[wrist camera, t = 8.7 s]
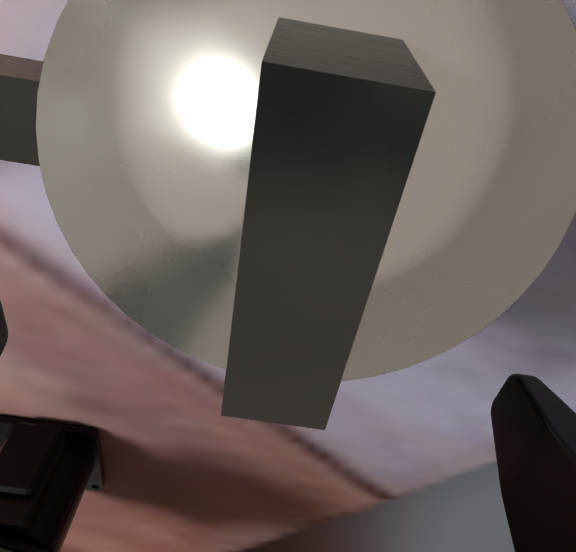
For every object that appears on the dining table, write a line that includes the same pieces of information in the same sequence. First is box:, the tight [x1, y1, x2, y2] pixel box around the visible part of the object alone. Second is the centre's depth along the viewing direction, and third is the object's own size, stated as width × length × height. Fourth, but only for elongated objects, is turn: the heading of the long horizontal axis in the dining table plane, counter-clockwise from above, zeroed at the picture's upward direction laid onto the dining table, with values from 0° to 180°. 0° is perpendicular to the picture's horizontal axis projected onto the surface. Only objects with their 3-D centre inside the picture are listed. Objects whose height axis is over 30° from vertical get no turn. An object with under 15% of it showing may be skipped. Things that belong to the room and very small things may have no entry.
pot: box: [0, 54, 44, 166], centre depth 15 cm, size 11×16×6 cm
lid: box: [36, 0, 576, 430], centre depth 11 cm, size 13×13×5 cm
